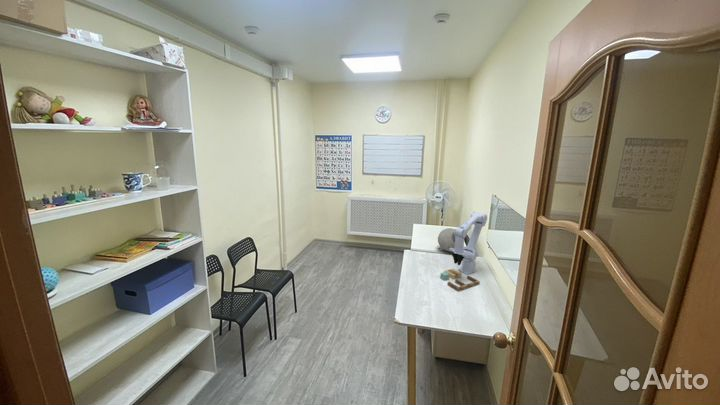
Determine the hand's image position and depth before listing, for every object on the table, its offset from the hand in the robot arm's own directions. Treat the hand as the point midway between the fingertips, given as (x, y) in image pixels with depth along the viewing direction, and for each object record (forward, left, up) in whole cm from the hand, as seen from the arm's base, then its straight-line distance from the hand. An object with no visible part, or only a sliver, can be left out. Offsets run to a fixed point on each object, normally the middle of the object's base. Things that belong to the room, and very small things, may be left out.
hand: (457, 264), depth 187 cm
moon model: (-32, -37, -10) cm, 50 cm away
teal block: (+9, -2, -10) cm, 14 cm away
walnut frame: (+3, +10, -10) cm, 14 cm away
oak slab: (0, -3, -10) cm, 11 cm away
